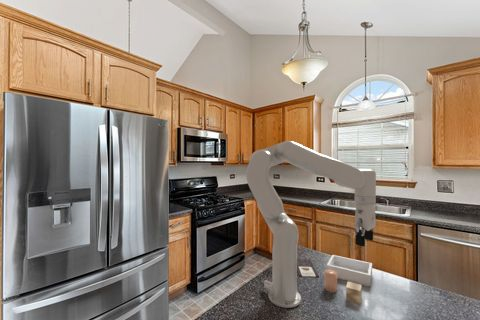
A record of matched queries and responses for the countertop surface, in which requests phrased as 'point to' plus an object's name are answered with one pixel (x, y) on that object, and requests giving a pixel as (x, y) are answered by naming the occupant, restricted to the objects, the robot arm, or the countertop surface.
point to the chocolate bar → (306, 268)
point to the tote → (351, 270)
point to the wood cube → (354, 292)
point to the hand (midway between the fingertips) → (364, 242)
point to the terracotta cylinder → (330, 280)
